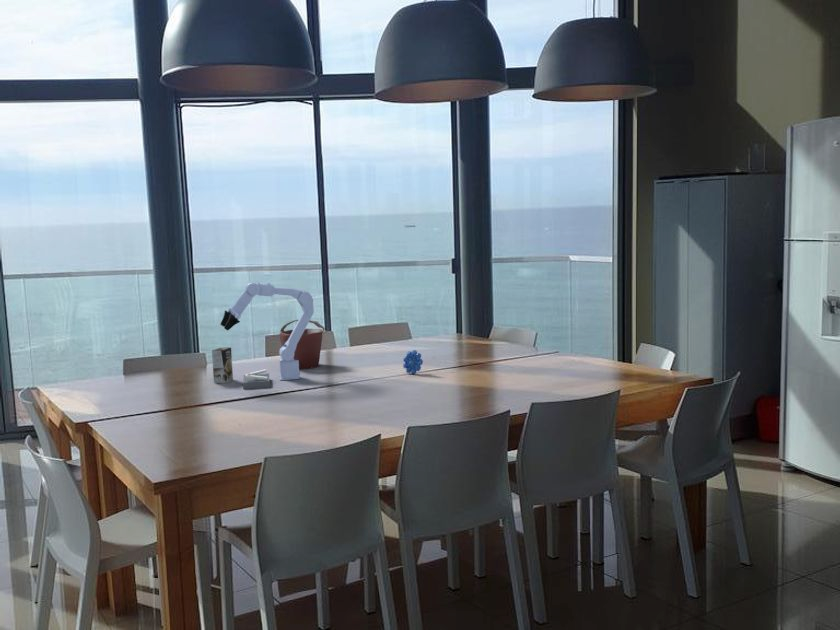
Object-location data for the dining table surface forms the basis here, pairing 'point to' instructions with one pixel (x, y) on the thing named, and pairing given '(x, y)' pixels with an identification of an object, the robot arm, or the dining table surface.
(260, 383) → the switch panel
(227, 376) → the coffee box
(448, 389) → the dining table surface
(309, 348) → the bucket
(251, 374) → the rocker
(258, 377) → the rocker
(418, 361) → the blue lobed wheel
